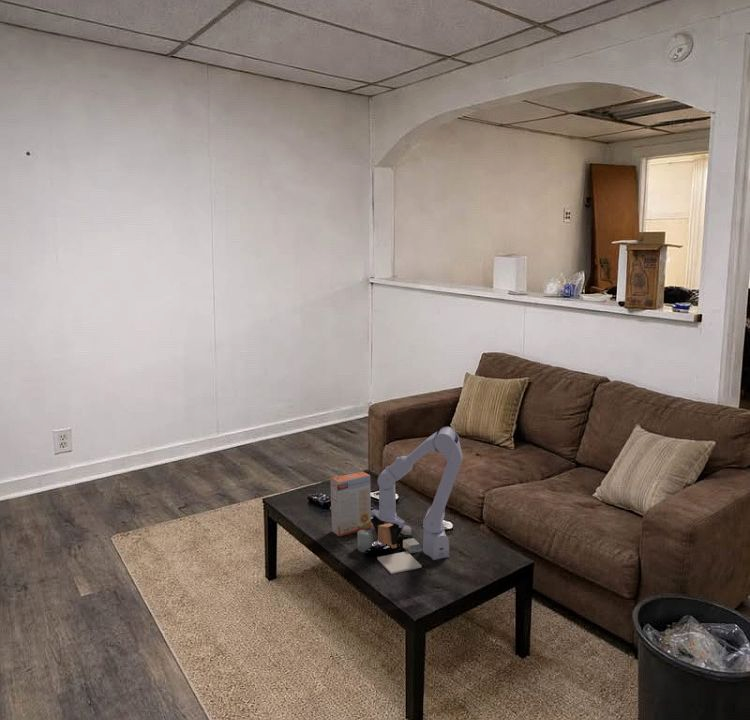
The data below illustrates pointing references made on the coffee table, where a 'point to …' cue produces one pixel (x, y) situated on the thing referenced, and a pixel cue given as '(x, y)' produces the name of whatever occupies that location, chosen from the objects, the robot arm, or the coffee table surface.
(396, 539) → the robot arm
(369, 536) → the grey rounded capsule
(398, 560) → the ceramic tile
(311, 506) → the coffee table surface
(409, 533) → the matte grey ellipsoid
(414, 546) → the metal tin
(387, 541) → the terracotta block
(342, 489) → the cracker box
